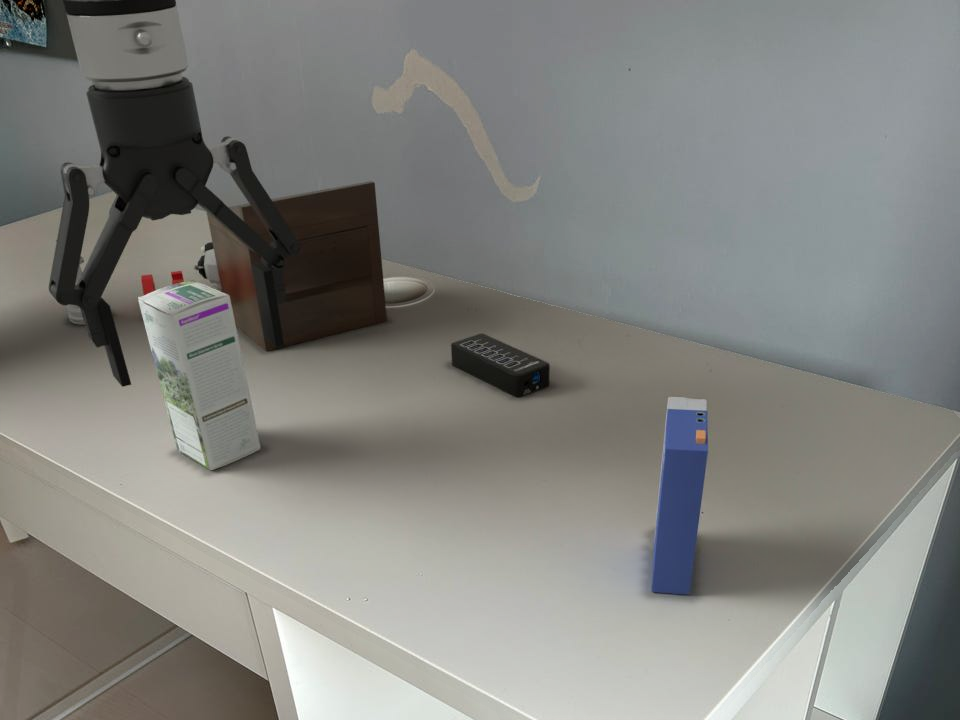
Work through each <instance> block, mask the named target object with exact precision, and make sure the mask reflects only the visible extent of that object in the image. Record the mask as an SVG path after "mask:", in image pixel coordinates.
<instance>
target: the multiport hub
mask: <svg viewBox="0 0 960 720" xmlns="http://www.w3.org/2000/svg"><path fill="white" fill-rule="evenodd" d="M450 352H451V366H452V367H455V368H456V369H458V370H460V371H463V372H465V373H466V374H468V375H471V376H473V377H475V378H477V379H478V380H481V381H483V382H485V383H487V384H489V385H491V386H493V387H495V388H496V389H498V390H501V391H503V392H505V393H506V394H508V395H510V396H512V397H514V398H522V397H524V396H527V395H530V394H532V393H534V392H537V391H540V390H543V389H545V388H548V387H550V370H551V369H550V367H551V366H550V362H547V361H545V360H543V359H541V358H539V357H537V356H535V355H532V354H529V353H528V352H525V351H523V350H521V349H518V348H517V347H515V346H512V345H510V344H507V343H505V342H504V341H501V340H499V339H497V338H494V337H492V336H490V335H487V334H486V333H478V334H474V335H472V336H469V337H465V338H463V339H459V340H456V341H454V342H452V343H450Z"/></svg>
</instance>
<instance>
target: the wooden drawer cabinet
mask: <svg viewBox="0 0 960 720" xmlns="http://www.w3.org/2000/svg"><path fill="white" fill-rule="evenodd" d="M376 192H377V191H376V183H375V182H374V181H373V180H369V181H363V182H358V183H352V184H347V185H341V186H336V187H332V188H331V187H329V188H324V189H318V190H314V191H307V192H302V193H297V194H293V195H287V196H286V195H285V196H281V197H275V198H271V200H272V201H273V203H274V205H275V206H276V208H277V209H278V211H279V212H280V214H281V215H282V217H283V218H284V220H285V221H286V223H287V224H288V226H289V228H290V229H291V231H292V232H293V234H294V235H295V237H296V238H297V240H298V241H299V243H300V245H301V250H300V252H299V253H298V254H297V255H291V256H290V257H288V258H287V259H286V265H285V267H284V268H283V269H282V272H283V278H284V285H285V291H286V301H285V303H281V304H278V310H279V316H280V322H281V328H282V334H283V340H284V346H280V347H275V346H274V345H273V344H272V343H270V342H269V341H268V340H267V339H265V337H264V332H263V326H262V321H261V315H260V310H259V304H258V298H257V293H256V287H255V282H254V276H253V270H252V265H251V264H252V263H257V262H260V263H262V262H261V259H260V258H259V257H258V256H257V255H256V254H255V253H254V252H252V251H251V250H250V249H249V248H248V247H247V246H246V245H245V244H243V243H242V242H241V241H240V240H239V239H238V238H237V237H235V236H234V235H233V234H232V233H231V232H230V231H229V230H227V229H226V228H225V227H224V226H223V225H222V224H221V223H219V222H218V221H217V220H216V219H215V218H214V217H213V216H212V215H210V214H209V213H208V212H207V211H206V218H207V221H208V226H209V232H210V237H211V242H212V243H213V248H214V253H215V258H216V263H217V268H218V274H219V279H220V284H221V286H220V289H221V292H223V293H225V294H228V295H229V296H230V300H231V305H232V310H233V314H234V319H235V324H236V328H238V329H239V330H241V331H242V332H243V333H244V334H245V335H246V336H247V337H249V338H250V339H251V340H252V341H253V342H255V343H256V344H257V345H258V346H259V347H261V348H262V349H263V350H264V351H265V352H269V351H273V350H276V349H281V348H285V347H288V346H293V345H296V344H300V343H305V342H308V341H313V340H317V339H320V338H325V337H328V336H332V335H336V334H340V333H344V332H348V331H353V330H356V329H361V328H364V327H367V326H372V325H376V324H380V323H385V322H387V321H388V317H387V316H388V315H387V305H386V294H385V282H384V274H383V273H384V271H383V261H382V250H381V249H382V248H381V236H380V226H379V218H378V217H379V215H378V205H377V203H378V202H377V193H376ZM227 207H228V208H229V209H231V210H232V211H233V212H234V213H235V214H236V215H237V216H238V217H239V218H241V219H242V220H243V221H244V222H245V223H246V224H247V225H248V226H249V227H251V228H252V229H253V230H254V231H255V232H256V233H257V234H258V235H259V236H261V237H262V238H263V239H264V240H265V241H266V242H267V243H268V244H271V243H272V242H274V239H273V238H272V236H271V235H270V233H269V232H268V230H267V229H266V227H265V226H264V224H263V223H262V221H261V220H260V218H259V217H258V215H257V214H256V212H255V211H254V209H253V208H252V206H251V205H250V203H249V202H247V203H244V204H239V205H234V206H227Z"/></svg>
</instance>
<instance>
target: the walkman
mask: <svg viewBox="0 0 960 720" xmlns="http://www.w3.org/2000/svg"><path fill="white" fill-rule="evenodd" d="M666 405H667V407H666V415H665V424H664V436H663V446H662V456H661V465H660V475H659V487H658V497H657V506H656V517H655V527H654V540H653V554H652V555H653V557H652V572H651V573H652V575H651V592H652V593H661V594H676V595H690V593H691V586H692V578H693V572H694V571H693V570H694V562H695V554H696V548H697V547H696V546H697V539H698V531H699V525H700V516H701V509H702V500H703V493H704V486H705V478H706V469H707V462H708V455H709V436H708V435H709V433H708V431H709V430H708V429H709V428H708V427H709V426H708V407H707V405H708V403H707V399H703V398H702V399H701V398H700V399H699V398H688V397H684V396H683V397H680V396H669V397H668V398H667V404H666Z"/></svg>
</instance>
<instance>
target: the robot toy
mask: <svg viewBox="0 0 960 720" xmlns="http://www.w3.org/2000/svg"><path fill="white" fill-rule="evenodd" d="M200 250H201V252H202V253H203V254H204V255H201V256H200V258H199V260H198V262H197V265H196V264H193V265H192V267H193V270H194V271H198V274H199V275H201V277H202V278H203V279H205V280H208V282H209V283H211V284H217V286H218V287H221V284H220V279H219V274H218V268H217V263H216V258H215V253H214V248H213V243H212V241H210V242H207V243H205V244H204V245H202V246H201V247H200Z"/></svg>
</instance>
